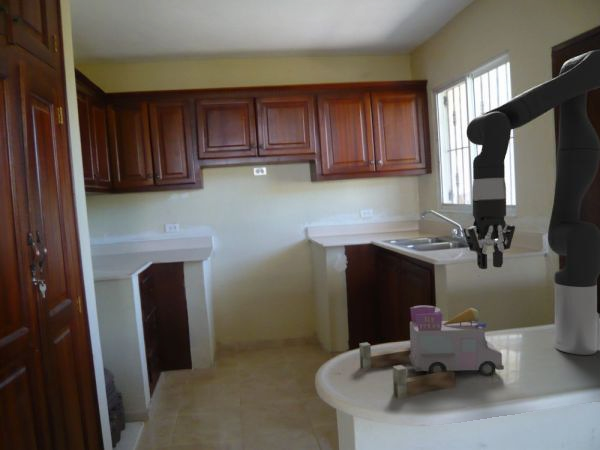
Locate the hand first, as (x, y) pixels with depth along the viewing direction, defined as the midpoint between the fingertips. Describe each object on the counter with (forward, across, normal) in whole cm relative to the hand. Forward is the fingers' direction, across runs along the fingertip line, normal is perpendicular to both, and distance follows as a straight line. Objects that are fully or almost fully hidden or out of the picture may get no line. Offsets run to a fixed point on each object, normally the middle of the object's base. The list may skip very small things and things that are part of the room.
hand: (490, 267), depth 107 cm
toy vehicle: (+24, +12, +2) cm, 27 cm away
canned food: (+23, +10, -14) cm, 29 cm away
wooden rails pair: (+23, +24, 0) cm, 34 cm away
